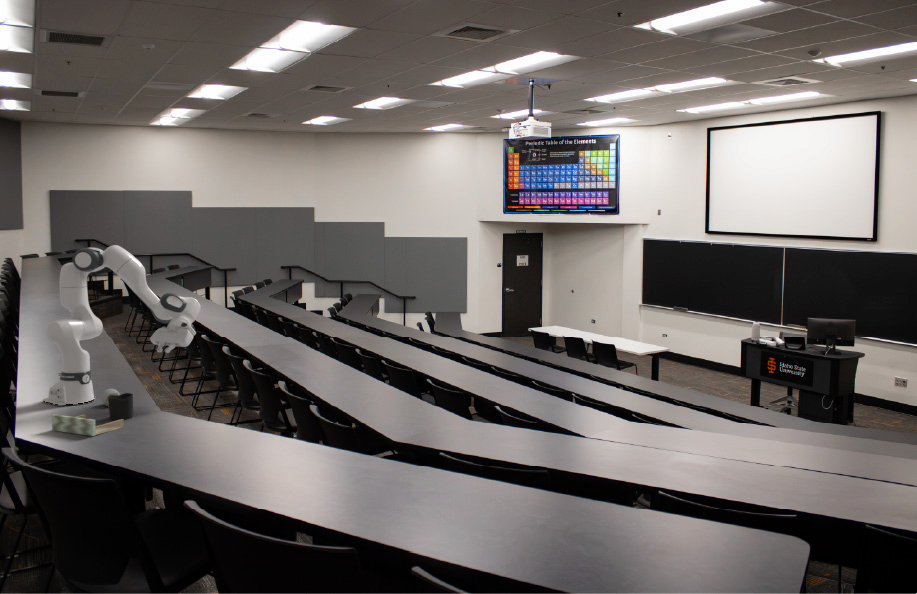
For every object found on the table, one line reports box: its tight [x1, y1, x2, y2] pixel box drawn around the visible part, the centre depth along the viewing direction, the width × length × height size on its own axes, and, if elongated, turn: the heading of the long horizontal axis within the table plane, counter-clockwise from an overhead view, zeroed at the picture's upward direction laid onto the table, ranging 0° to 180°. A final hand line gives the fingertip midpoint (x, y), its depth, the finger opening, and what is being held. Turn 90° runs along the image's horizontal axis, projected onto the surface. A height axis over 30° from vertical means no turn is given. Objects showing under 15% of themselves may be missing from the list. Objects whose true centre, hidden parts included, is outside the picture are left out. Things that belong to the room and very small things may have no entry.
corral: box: [51, 413, 125, 437], centre depth 273 cm, size 21×15×6 cm
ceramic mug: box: [100, 388, 121, 408], centre depth 311 cm, size 11×8×8 cm
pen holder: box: [108, 392, 134, 422], centre depth 288 cm, size 9×9×10 cm
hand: (162, 351), depth 309 cm, fingers open, 3 cm apart
